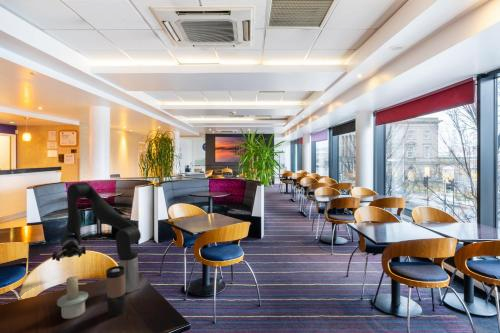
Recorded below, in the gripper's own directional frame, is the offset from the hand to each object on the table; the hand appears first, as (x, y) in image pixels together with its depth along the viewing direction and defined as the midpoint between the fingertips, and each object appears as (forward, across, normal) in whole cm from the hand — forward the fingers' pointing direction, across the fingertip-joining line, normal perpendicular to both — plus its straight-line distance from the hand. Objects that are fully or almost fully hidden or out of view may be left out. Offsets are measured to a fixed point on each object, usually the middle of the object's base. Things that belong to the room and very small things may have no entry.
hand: (69, 257), depth 135 cm
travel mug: (+23, +18, +23) cm, 37 cm away
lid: (+13, +1, +16) cm, 21 cm away
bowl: (+13, +1, +22) cm, 26 cm away
